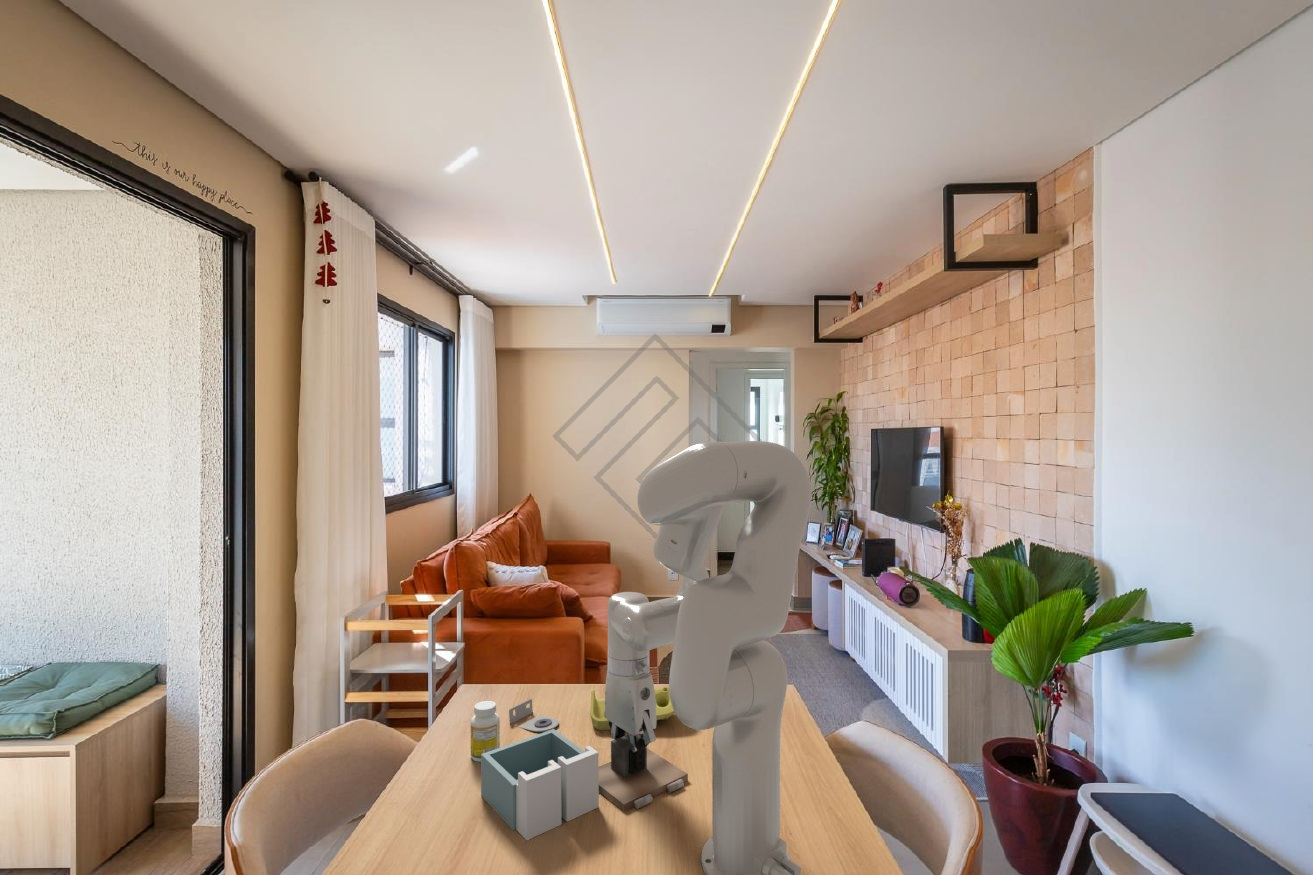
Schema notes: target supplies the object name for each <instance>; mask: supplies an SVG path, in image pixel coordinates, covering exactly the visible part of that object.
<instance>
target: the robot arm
mask: <svg viewBox="0 0 1313 875" xmlns="http://www.w3.org/2000/svg"><path fill="white" fill-rule="evenodd" d="M637 493H638V494H637V508H638V511H639V513H640V515H641V517H642V519H644V521H646V522H647V523H649V524H650V525H653V526H659V527H658V528H659V529H658V532H657V535H656V537H655V540H654V543H653V547H652V551H653V552H652V553H653V556H654V558H655V560H656V561H657V562H658V563H659V564H660V565H661V566H663V567H664V568H665V569H667V570H668V571H669V572H672V573H675V574H677V575H679V576H682V579H681V580H682V581H681V583H680V586H679V589H678V591H677V593H676V595H675V596H672V597H668V598H662V599H658V600H657V599H656V600H653V601H649V598H648V597H647V596H646V595H645V594H644V593H641V592H637V591H636V592H635V591H623V592H622V591H620V592H617V593H615V594H612V595H611V596H610V597H609V598H608V601H607V671H606V677H605V686H604V688H605V690H604V699H605V711H604V715H605V717H606V718H607V720H608V722H609V726H610V728H611V729H610V737H611V739H612V740H615V739H617V738H620V737H623V736H625V735H628V734H630V743H631V750H630V751H629V773H631V774H634V773H636V772H638V771H641V770H643V769H644V768H645V748H646V747H647V748H648V745H649V744H651V743H653V742H655V741H656V740H657V737H656V734H655V732H654V730H656V728H657V720H656V700H655V691H654V689H655V684H654V680H653V674H652V673H650V651H651V650H655V649H659V648H662V647H665V646H668V645H673V647H672V654H671V660H670V661H671V662H670V668H669V677H668V687H669V693H670V700H671V704H672V707H673V709H674V712H675V714H674V715H675V716H676V718H677V719H678V720H679V721H680V722H681V723H682V724H683V725H684V726H686V727H688V728H690V729H693V730H695V731H696V730H697V731H705V730H710V729H713V732H712V743H711V744H712V745H711V746H712V747H711V748H712V749H711V750H712V751H711V754H712V756H711V765H712V768H711V769H712V771H711V772H712V773H711V774H712V776H711V777H712V778H711V782H712V783H711V784H712V788H711V789H712V792H711V793H712V794H711V795H712V796H711V797H712V809H711V810H712V813H711V814H712V815H711V816H712V818H711V819H712V820H711V823H712V824H711V825H712V827H711V828H712V832H711V833H712V835H711V837H709V838H708V840H707V841H705V842H704V843H705V844H704V845H702V846H703V847H702V849H701V850H702V851H701V867H702V870H703V873H704V874H705V875H800V874H801V870H802V867H801V866H800V865H798V864H797V863H795V862H794V861H792V858H791V855H790V852H788V850H787V841H785V840H784V839H782V838H781V731H782V730H781V729H782V718H783V711H784V707H785V701H786V694H787V688H788V671H787V667H786V664H785V660H784V657H782V654H781V653H780V652H779V650H778V649H777V648H776V647H775V646H774V645H773V644H771V643H770V642H769V641H767V639H771V638H772V637H775V636H777V635H778V634H779V633H781V632H782V631H783V630H784V627H785V626H786V623H787V621H788V616H789V611H790V606H791V601H792V600H791V599H792V596H793V589H794V584H795V578H796V573H797V567H798V561H799V554H800V549H801V543H802V540H803V536H804V532H805V529H806V525H807V522H808V517H809V515H810V509H811V502H812V501H811V500H812V488H811V481H810V477H809V475H808V471H807V470H806V467H805V465H804V464H803V462H802V460H801V459H800V458H799V456H797V454H796V453H794V452H793V451H792V450H791V449H789V448H788V447H786V446H784V445H781V444H778V443H775V442H770V441H765V440H764V441H763V440H760V441H759V440H745V441H744V440H738V441H734V440H733V441H708V442H707V441H706V442H700V443H697V444H694V445H691V446H689V447H688V448H686V449H683V450H682V451H680V452H679V453H677V454H675V455H674V456H672V457H670V458H668V459H666V460H664V461H663V462H661V463H659V464H657V465H656V466H655V467H653V468H652V469H650V470H649V471H648V472H647V473H646V475H645V476H644V478H643V479H642V481H641V483H640V485H639V488H638V492H637ZM750 502H752V503H753V505H754V507H753V508H752V511H751V512H750V513H749V515H747V518H746V519H745V521H744V522H743V524H742V526H741V528H740V530H739V533H738V535H737V537H736V543H735V549H734V550H735V551H734V556H733V560H732V565H731V567H730V570H729V571H727V572H726V573H725V574H719V575H715V576H711V577H710V574H709V572H708V570H707V567H706V566H705V559H706V557H707V554H708V552H709V550H710V547H711V544H712V541H713V538H714V536H715V533H716V531H717V529H718V528H717V527H718V525H719V523H720V520H721V518H722V514H723V512H724V508H725V505H729V504H730V505H734V504H742V503H750ZM627 733H628V734H627ZM636 736H640V739H639V740H638V741H637V740H636Z"/></svg>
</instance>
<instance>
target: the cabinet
mask: <svg viewBox="0 0 1313 875" xmlns="http://www.w3.org/2000/svg"><path fill="white" fill-rule="evenodd" d="M499 747H500V748H498V749H495V750H492V751H489V752H486V753H483V754H481V762H480V765H481V766H480V780H481V781H480V785H481V786H480V788H481V789H480V792H481V794H480V796H481V797H482V798H483V800H485V802H486V803H488V805H489V806H490V807H491V808H492V809H493V810H494V811H495V812H496V813H497V815H498V816H499V817H500V818H501V819H502V820H503V821H504V822H505V823H506V824H507V825H508V827H509V828H510V829H511V830H512V831H518V833H519V835H521V836H522V837H523V838H524V840H526V841H529V840H531V839H533V838H535V837H537V836H539V835H541V834H543V833H544V834H545V833H546V832H548V831H550V830H553V829H555V828H557V827H559V826H561V825H562V819H563V820H565V822H570V821H571V820H574V819H576V818H578V817H580V816H582V815H584V814H587V813H589V812H591V811H593V810H595V809H598V808H599V807H600V806H599V804H600V803H599V798H600V797H599V796H600V794H599V793H600V792H599V773H598V767H599V751H597V750H596V749H594V748H593V747H592V746H590V745H587V746H584V750H583V749H582V748H580V747H579V746H578V745H576V744H575V743H574V742H572V741H571V740H569V739H568V738H567V737H566V736H565V735H563V734H561V733H560V732H558V731H557V730H556V728H554V729H551V730H548V731H544V732H540V733H538V734H536V735H535V734H534V735H533V736H529V737H527V738H523V739H521V740H518V741H515V742H512V743H509V744H506V745H503V746H499Z"/></svg>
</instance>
